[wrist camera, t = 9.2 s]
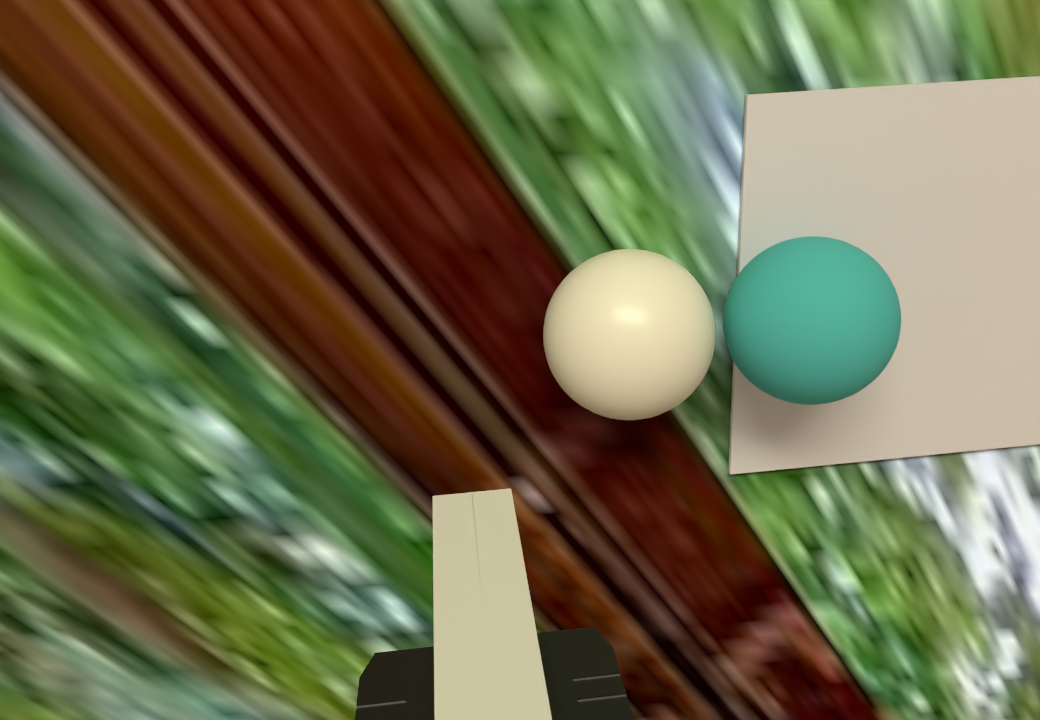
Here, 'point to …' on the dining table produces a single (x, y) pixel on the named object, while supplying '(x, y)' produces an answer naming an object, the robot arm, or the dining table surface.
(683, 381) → the cue ball
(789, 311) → the object ball
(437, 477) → the dining table surface
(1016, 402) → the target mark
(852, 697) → the dining table surface
